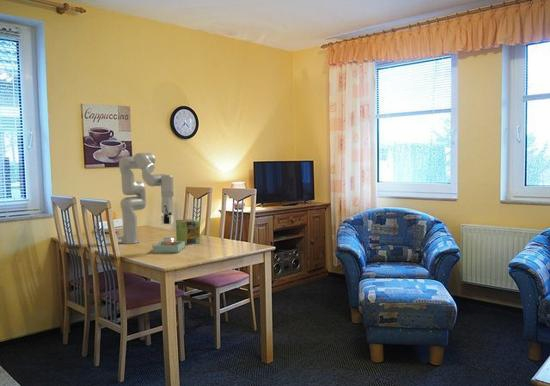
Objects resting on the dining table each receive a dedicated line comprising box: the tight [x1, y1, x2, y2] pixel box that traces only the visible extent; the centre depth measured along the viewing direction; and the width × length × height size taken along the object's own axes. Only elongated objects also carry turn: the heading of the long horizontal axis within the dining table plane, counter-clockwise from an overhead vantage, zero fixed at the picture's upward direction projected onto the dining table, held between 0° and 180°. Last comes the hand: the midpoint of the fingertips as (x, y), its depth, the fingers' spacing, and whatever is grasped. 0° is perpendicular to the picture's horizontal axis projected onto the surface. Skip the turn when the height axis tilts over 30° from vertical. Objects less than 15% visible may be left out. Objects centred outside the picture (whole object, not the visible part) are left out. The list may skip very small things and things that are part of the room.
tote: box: [152, 240, 186, 254], centre depth 297 cm, size 16×16×4 cm
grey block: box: [160, 214, 175, 225], centre depth 296 cm, size 6×6×5 cm
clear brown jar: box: [163, 236, 175, 246], centre depth 297 cm, size 6×6×7 cm
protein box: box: [175, 218, 201, 246], centre depth 324 cm, size 10×15×16 cm
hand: (168, 222), depth 296 cm, fingers closed on grey block, 6 cm apart
